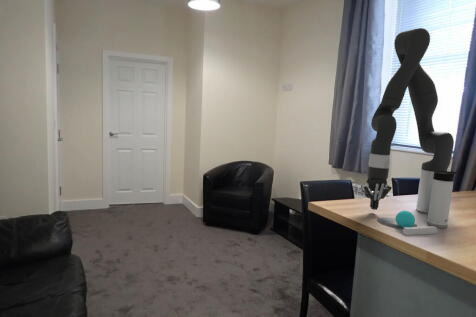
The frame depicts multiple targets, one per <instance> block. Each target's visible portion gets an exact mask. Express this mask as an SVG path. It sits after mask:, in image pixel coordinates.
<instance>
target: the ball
mask: <svg viewBox="0 0 476 317" xmlns="http://www.w3.org/2000/svg"><path fill="white" fill-rule="evenodd" d="M395 218H396V222H397V224H398V225H399V226H400V227H402V228H404V227H412V226H413V225H414V223H415V224H416V218H415V215H414V214H413V213H412V212H410V211H408V210H401V211H399V212H398V213H397V214H396V216H395Z"/></svg>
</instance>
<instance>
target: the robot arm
mask: <svg viewBox="0 0 476 317" xmlns="http://www.w3.org/2000/svg"><path fill="white" fill-rule="evenodd" d="M430 43H431V34H430V32H429V31H428V30H427V29H426V28H424V27H418V28H412V29H408V30H405V31H401V32H399V33H398V34H397V35H396V36H395V38H394V45H393V46H394V51H395V54H396V56H397V59H398V61H399V64H400V66H399V68H398V69H397V70H396V72H395V73H394V75H393V76H392V77H391V78H390V80H389V81H388V83H387V84H386V87H385V90H384V92H383V95H382V98H381V101H380V103H379V105H378V106H377V108H376V110H375V112H374V114H373V116H372V118H371V123H370V125H371V128H372V129H373V131H375V132H376V133H375V134H376V135H375V138H374V139H373V140H372V141H371V144H370V155H369V157H368V165H367V166H368V167H367V180H366V183H365V184H362V185H360V188H361V191H363V193H364V195H365V197H366V198H368V199H370V202H369V203H370V204H369V208H370V209H371V210H378V208H379V204H380V201H381V200H384V199H385V198H386V196H387V195H388V194H389V192H390V191H391V190H392V186H390V185H388V178H389V172H390V164H391V148H392V142H393V140H394V137H395V135H396V132H397V120H396V118H395V116H394V112H396V111H397V110H399V109H400V107H401V105H402V103H403V100H404V97H405V94H406V91H407V89H408V94H409V98H410V103H411V105H412V110H413V112H414V116H415V121H416V127H417V134H418V141H419V146H420V148H421V151H423V152H424V153H426V154H430V155H431V154H432V155H433V156H432V159H430V160H428V161H424V162H422V164H421V169H420V176H419V177H420V178H419V184H418V192H417V200H416V210H417V211H418V212H420V213H425V214H428V212H429V205H430V197H431V190H432V183H433V177H434V172H437V171H448V170H449V169H448V168H449V166H450V164H451V160H452V154H453V151H454V144H455V143H454V142H455V141H454V137H453V135H452V134H451V133H449V132H446V131H435V128H434V125H433V116H434V113H435V111H436V109H437V106H438V102H439V98H438V97H439V96H438V93H437V88H436V84H435V82H434V80H433V79H432V78H431V76H430V75H429V74H428V73H427V71H425V69H424V68H423V67H422V65H421V61H422V59H423V58H424V55H425V54H426V52H427V50H428V49H429V46H430Z"/></svg>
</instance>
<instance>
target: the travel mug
mask: <svg viewBox="0 0 476 317" xmlns="http://www.w3.org/2000/svg"><path fill="white" fill-rule="evenodd" d="M456 173H457V172H456V171H453V170H452V171H451V170H450V171H449V170H447V171H437V172H434V177H433V183H432V190H431V197H430V205H429V212H428V213H427V221H426V224H427V226H434V227H437V229H446V228H447V227H448V222H449V217H450V209H451V202H452V193H453V190H454V189H453V186H454V179H455V175H456Z"/></svg>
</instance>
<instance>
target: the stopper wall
mask: <svg viewBox="0 0 476 317" xmlns="http://www.w3.org/2000/svg"><path fill="white" fill-rule="evenodd" d="M402 230H403V231H402V233H403V234H404V235H406V236H410V235H433V234H434V235H435V234H437V231H438V228H437V227H434V226H430V225H427V226H417V227H404V229H402Z"/></svg>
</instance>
